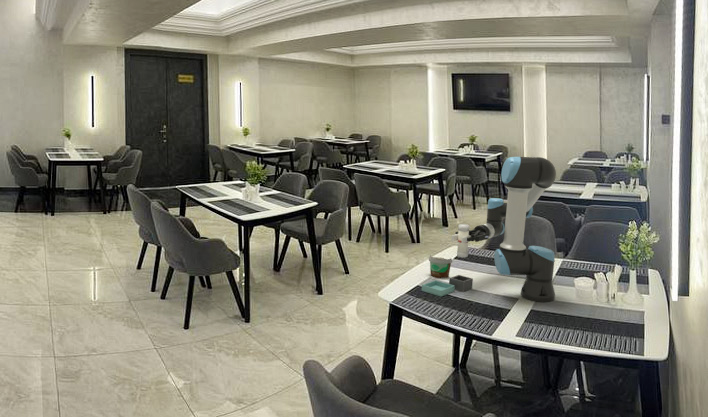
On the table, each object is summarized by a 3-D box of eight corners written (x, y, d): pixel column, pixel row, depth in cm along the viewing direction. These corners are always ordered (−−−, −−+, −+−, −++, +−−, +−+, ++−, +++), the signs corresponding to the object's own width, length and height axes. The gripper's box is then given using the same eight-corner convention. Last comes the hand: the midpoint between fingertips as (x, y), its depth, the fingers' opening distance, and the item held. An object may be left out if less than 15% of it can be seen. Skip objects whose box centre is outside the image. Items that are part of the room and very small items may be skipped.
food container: (424, 276, 297) (425, 257, 295) (428, 273, 303) (429, 254, 301) (447, 280, 292) (448, 261, 290) (451, 277, 297) (452, 258, 295)
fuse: (469, 255, 277) (471, 225, 274) (464, 258, 274) (466, 226, 271) (460, 253, 281) (461, 223, 277) (455, 256, 277) (456, 225, 274)
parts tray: (454, 291, 275) (454, 285, 275) (441, 296, 267) (441, 290, 267) (435, 285, 283) (435, 280, 282) (421, 290, 275) (421, 285, 274)
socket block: (472, 288, 280) (472, 278, 279) (463, 292, 274) (463, 282, 274) (457, 284, 286) (458, 274, 285) (448, 288, 280) (449, 278, 279)
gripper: (499, 242, 283) (473, 250, 266) (467, 236, 295) (440, 243, 278) (500, 227, 282) (474, 234, 265) (468, 221, 294) (441, 228, 277)
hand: (457, 239), depth 272 cm, fingers closed on fuse, 5 cm apart
